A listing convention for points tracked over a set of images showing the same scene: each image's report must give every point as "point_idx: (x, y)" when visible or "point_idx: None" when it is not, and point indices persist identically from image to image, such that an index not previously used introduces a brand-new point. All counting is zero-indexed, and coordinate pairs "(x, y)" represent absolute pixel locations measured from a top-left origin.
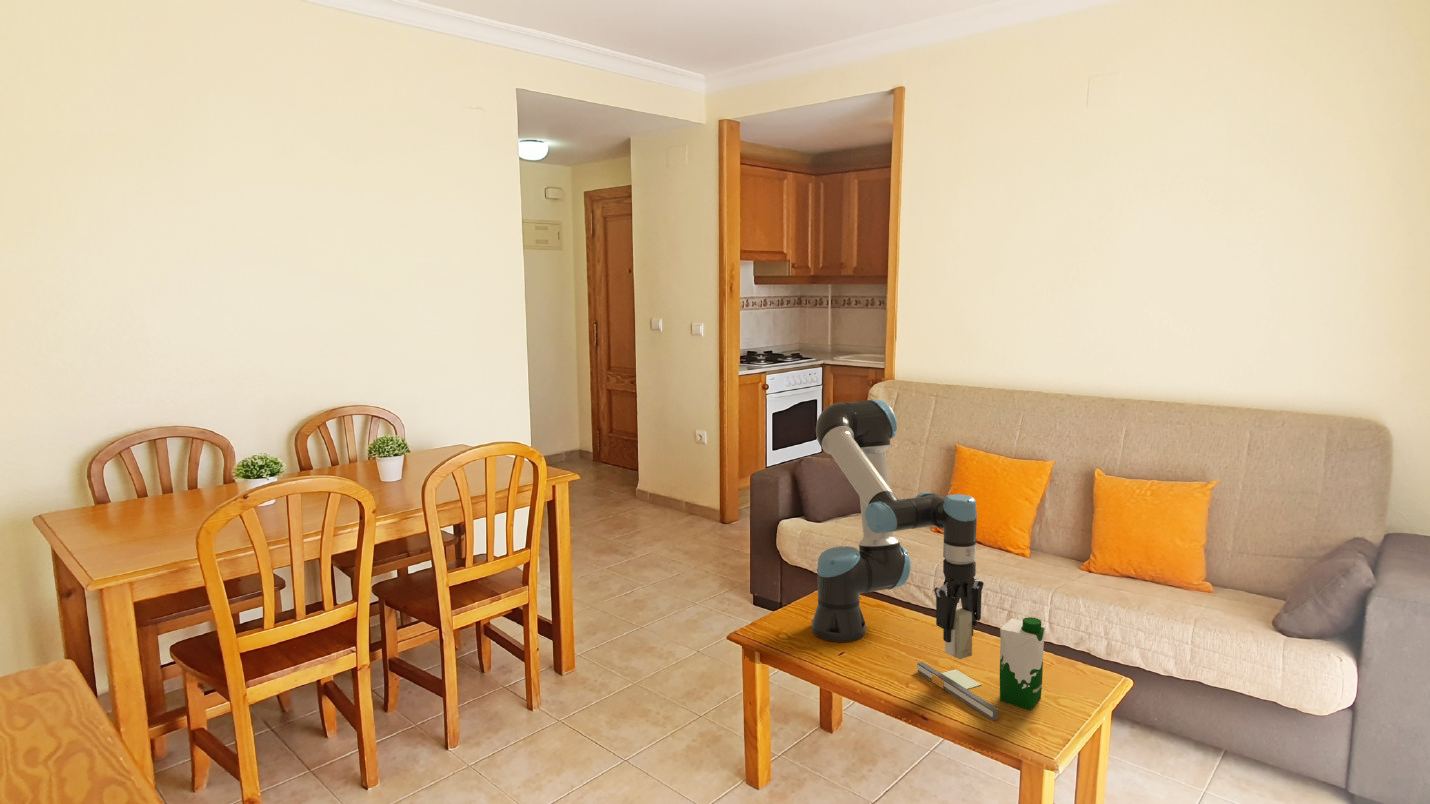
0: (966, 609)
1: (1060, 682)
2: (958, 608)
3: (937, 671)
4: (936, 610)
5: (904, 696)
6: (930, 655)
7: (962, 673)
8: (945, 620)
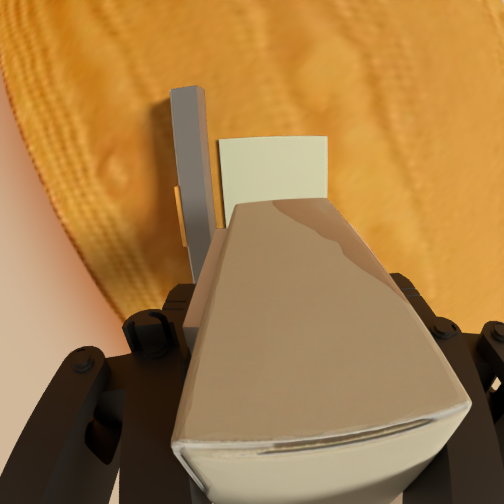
0: (415, 485)
1: (472, 314)
2: (392, 468)
3: (200, 185)
4: (8, 469)
5: (73, 221)
6: (314, 6)
7: (325, 173)
8: (106, 461)
